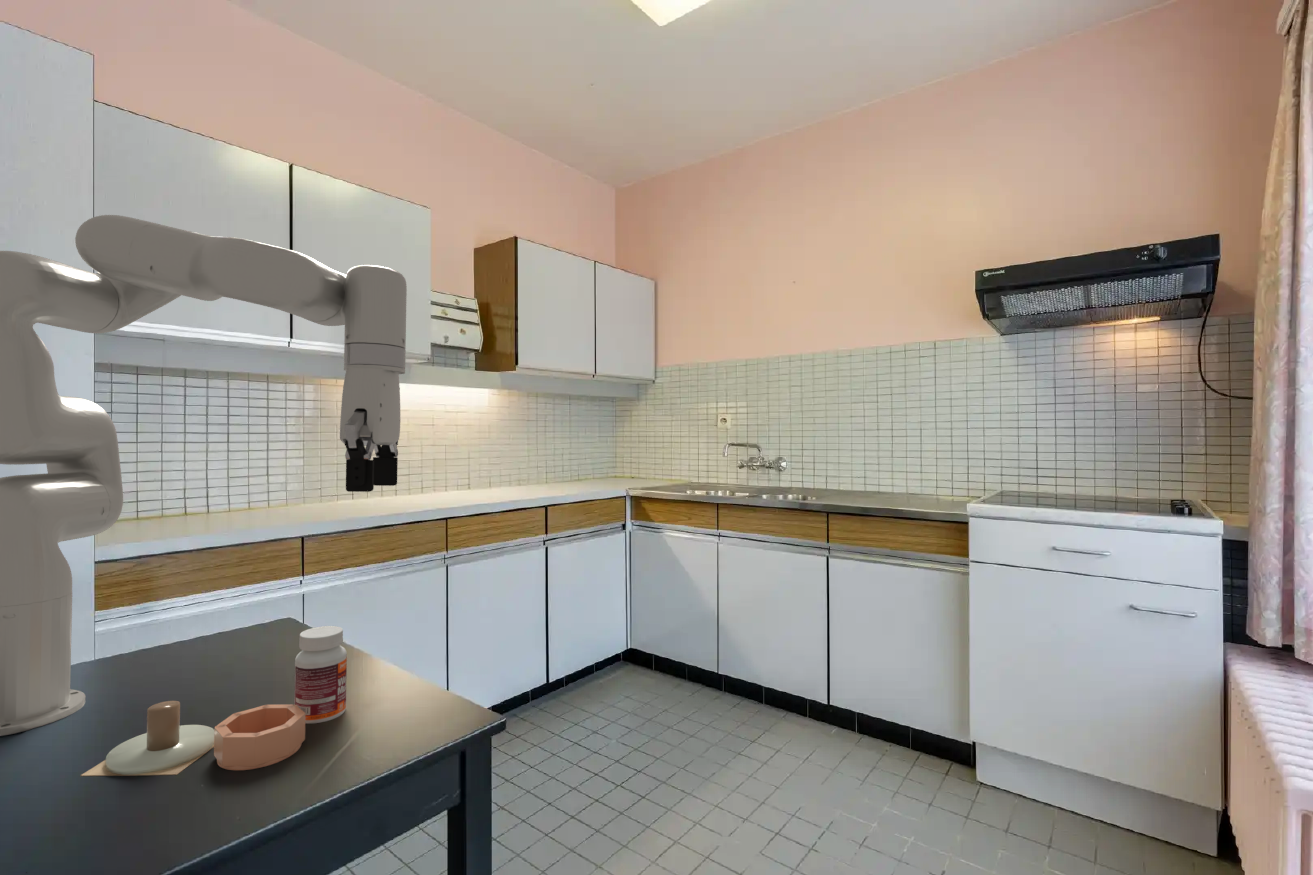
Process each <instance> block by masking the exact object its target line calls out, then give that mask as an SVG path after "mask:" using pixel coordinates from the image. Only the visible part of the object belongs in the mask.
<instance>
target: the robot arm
mask: <svg viewBox="0 0 1313 875" xmlns="http://www.w3.org/2000/svg"><path fill="white" fill-rule="evenodd" d="M74 241H75V248H76V250H77V252H78V254H79V256H80V257H81V258H82V260H83V261H84V263H85V264H86V265H87V266H89V267H90V268H91V269H93V270H94V271H95V272H96V273H95V272H92V271H91V272H90V271H88V270H85V269H81V268H79V267H75V266H73V265H72V266H71V265H69V264H66V263H62V262H60V261H56V260H53V259H52V258H51V259H50V258H46V257H43V256H39V255H36V254H31V253H27V252H22V251H21V252H20V251H11V250H0V465H12V466H13V465H16V466H17V465H18V466H19V465H21V466H22V465H46V470H47V471H46V472H47V473H35V474H18V475H16V474H15V475H9V476H8V475H7V476H4V477H3V476H1V477H0V737H3V736H8V735H13V734H17V733H21V732H22V733H23V732H26V731H30V730H32V729H35V728H39V727H42V726H45V725H49V724H53V723H54V722H57V721H59V720H62V719H65V718H67V717H68V716H71V715H73V714H74V713H77V712H78V711H79V710H81V709H82V708H83V707H84V706H85V704H86V694H85V693H84V691H83V692H82V691H81V690H78V689H71V677H72V676H71V672H72V671H71V670H72V667H71V666H72V665H71V664H72V624H73V623H72V622H73V621H72V620H73V619H72V618H73V576H72V569H71V566H70V564H69V562H68V560H67V558H66V557H65V555H64V554H63V552H62V550H61V548H60V546H59V544H58V543H62V542H66V541H67V542H68V541H72V540H77V539H82V538H83V539H84V538H88V537H92V536H95V535H96V536H97V535H99V534H102V533H103V532H105V531H107V530H109V529H110V528H111V527H112V526H114V524H116V523H117V521H118V519H119V518H120V515H121V513H122V510H123V505H124V504H123V503H124V490H123V481H122V469H121V460H120V449H119V442H118V434H117V429H116V426H115V424H114V421H113V420H112V418H111V416H110V415H109V414H108V413H107V410H105V409H104V408H103V407H101V406H100V405H99V404H97V403H95V402H93V401H91V400H89V399H86V398H81V397H77V396H66V395H59V392H58V388H57V385H56V378H55V365H54V362H53V358H52V356H51V354H50V351H49V349H48V347H47V346H46V344H45V343H44V341H43V340H42V338H41V337H40V336H39V335H38V334H37V333H36V331H35V329H34V326H35V324H42V325H47V326H52V327H56V328H60V329H61V328H62V329H66V330H67V329H68V330H71V331H77V332H82V333H89V334H106V333H111V332H114V331H117V330H118V331H119V330H120V329H122V328H124V327H126V326H129V325H131V324H132V323H135V322H136V321H138V320H140V319H141V318H143V317H146V316H147V315H149V314H151V313H153V312H155V311H157V310H158V309H161V308H162V307H164V306H166V305H167V304H169V303H171V302H173V301H174V300H177V299H178V298H180V297H181V296H182V297H183V296H184V297H188V298H192V299H195V300H201V301H205V302H206V301H207V302H214V301H216V300H219V299H221V298H227V299H233V300H237V301H243V302H246V303H251V304H255V305H259V306H263V307H268V308H271V309H274V310H279V311H282V312H285V313H288V314H291V315H293V316H296V317H300V318H302V319H304V320H306V321H309V322H312V323H313V324H317V325H320V326H325V327H336V326H337V327H338V326H344V343H343V344H344V345H343V346H344V347H343V348H344V350H343V351H344V352H343V354H344V356H343V357H344V358H343V371H345V373H344V374H345V375H344V378H343V380H344V381H343V387H342V393H341V394H342V395H341V405H340V406H341V407H340V423H339V440H340V442H341V443H343V444H344V446H345V448H346V451H345V456H344V458H345V461H346V462H345V491H346V492H349V493H353V492H354V493H356V492H357V493H359V492H361V493H364V492H365V493H370V492H373V491H374V489H375V487H374V486H379V487H380V486H381V487H382V486H383V487H384V486H386V487H393V486H396V485H398V464H399V463H398V459H399V458H398V456H399V451H398V446H399V441H400V436H401V392H400V391H401V387H400V386H401V385H400V375H404V374H406V349H407V348H406V347H407V346H406V339H407V334H406V333H407V297H408V296H407V295H408V294H407V291H408V290H407V281H406V278H405V276H404V275H403V273H401V272H399V271H397V270H395V269H392V268H391V267H386V266H385V267H384V266H381V265H373V264H371V265H370V264H364V265H363V264H361V265H356V266H353V267H351V268H349V269H348V271H347V273H346V274H345V273H342V272H339V271H337V270H334V269H333V268H330V267H328V266H327V265H325V264H323V263H322V262H319V261H317V260H316V259H314V258H312V257H310V256H308V255H306V254H303V253H301V252H298V251H296V250H292V249H288V248H283V247H280V246H275V245H271V244H267V243H262V242H259V241H253V240H249V239H247V238H246V239H245V238H240V237H234V236H233V237H232V236H218V235H217V236H214V235H208V234H203V233H198V232H195V231H194V232H193V231H191V230H189V231H188V230H185V229H181V228H177V227H173V226H168V225H165V224H159V223H158V222H157V223H156V222H151V221H147V220H144V219H138V218H135V217H130V216H124V215H117V214H104V215H103V214H102V215H101V214H100V215H98V216H97V215H96V216H93V217H91V218H89V219H87V220H86V221H84V222H82V224H81V225H79V227H78V228H77V231H76V234H75V238H74ZM373 453H375V456H376V457H375V456H374V457H372V456H373Z"/></svg>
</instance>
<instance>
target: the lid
mask: <svg viewBox="0 0 1313 875" xmlns="http://www.w3.org/2000/svg"><path fill="white" fill-rule="evenodd" d="M146 715H147V716H146V732H145V733H142V734H140V735H136V736H135V737H132V738H129V739H127V740H125V741H123V742H121V743H119V744H118V745H116V746H115V747H113V748H112V749H111V750H109V752H108V753H107V755H106V757H105V760H106V769H107V770H108V771H110V772H112V773H115V774H122V775H129V776H137V775H136V774H145V773H151V772H156V771H160V770H165V769H168V768H172V767H175V766H178V765H181V764H183V763H186V762H188V761H191V760H193V759H195V758H197V757H199V756H201V755H202V754H204V753H205V752H206V753H208V752H209V751H210V750H212V749H213V748H212V746H213V745H214V728H213V727H210V726H207V725H203V724H202V725H201V724H184V725H180V724H181V723H180V721H181V719H180V718H181V702H180V701H178V700H167V701H165V700H164V701H161V702H158V703H155V704H153V705H151V706H149V707H148V708H147V711H146ZM211 748H212V749H211ZM209 749H210V750H209ZM208 750H209V751H208ZM207 751H208V752H207ZM206 753H205V754H206ZM205 754H204V755H205ZM201 757H202V756H201Z"/></svg>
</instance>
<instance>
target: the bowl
mask: <svg viewBox="0 0 1313 875" xmlns="http://www.w3.org/2000/svg"><path fill="white" fill-rule="evenodd" d="M305 715H306V713H305V712H304V711H302V710H301V709H300V708H299V707H298V706H296V705H295V704H290V703H289V704H288V703H287V704H264V705H260V706H257V707H254V708H249V709H245V710H242V711H238V712H234V713H232V714H231V715H229V716H227V718H225V719H224V720H222V721H221V722H219V723H218V724H217V725H215V726H214V728H213V729H214V747H213V756H214V757H215V759H216V764H217V765H218V766H219V767H220V768H222V769H225V770H228V771H246V770H248V771H249V770H255V769H259V768H263V767H267V766H268V767H269V766H271V765H274V764H277V763H279V762H282V761H283V760H287V759H288V758H291V756H292V755H294V754H295V753H297V752H298V751H299V749H300V748H301V746H302V743H303V742H304V741H305V740H306V723H305Z"/></svg>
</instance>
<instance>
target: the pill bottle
mask: <svg viewBox="0 0 1313 875" xmlns="http://www.w3.org/2000/svg"><path fill="white" fill-rule="evenodd" d="M343 632H344V630H343V628H342V627H340V626H336V625H335V626H334V625H324V626H317V627H312V628H308V629H305V630H303V631H301V632H300V633H299V639H298V640H299V643H298V644H299V645H298V646H299V647H298V648H299V649H300V650H301V651H300V652H299V653H298V654H296V657H295V660H294V697H293V699H294V700H293V701H294V702H293V703H294V704H295V705H296V706H298V707H299V708H300V709H301V710H302V711H304V712H305V713H306V715H305V724H317V723H324V722H328V721H331V720H334V719H337V718H339V717H341V716H342V715H343V714H344V713H345V712H346V710H347V680H348V679H347V677H348V676H347V675H348V674H347V671H348V670H347V667H348V666H347V661H348V660H347V659H348V655H347V654H348V652H347V649H346V648H345V647H344V646H342V644H343V643H344V637H343V636H344V633H343Z"/></svg>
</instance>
